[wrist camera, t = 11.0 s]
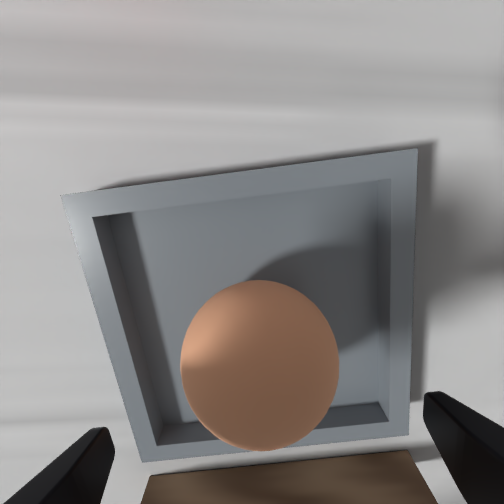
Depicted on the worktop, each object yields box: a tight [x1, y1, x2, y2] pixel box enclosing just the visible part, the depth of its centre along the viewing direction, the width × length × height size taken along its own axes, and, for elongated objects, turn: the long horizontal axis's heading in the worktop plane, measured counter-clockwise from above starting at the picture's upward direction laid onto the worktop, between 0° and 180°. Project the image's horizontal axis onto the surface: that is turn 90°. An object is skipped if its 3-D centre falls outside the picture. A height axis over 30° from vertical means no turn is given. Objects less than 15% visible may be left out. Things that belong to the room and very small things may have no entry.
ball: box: [180, 280, 339, 451], centre depth 11 cm, size 6×6×6 cm
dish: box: [60, 148, 418, 463], centre depth 13 cm, size 14×14×2 cm
